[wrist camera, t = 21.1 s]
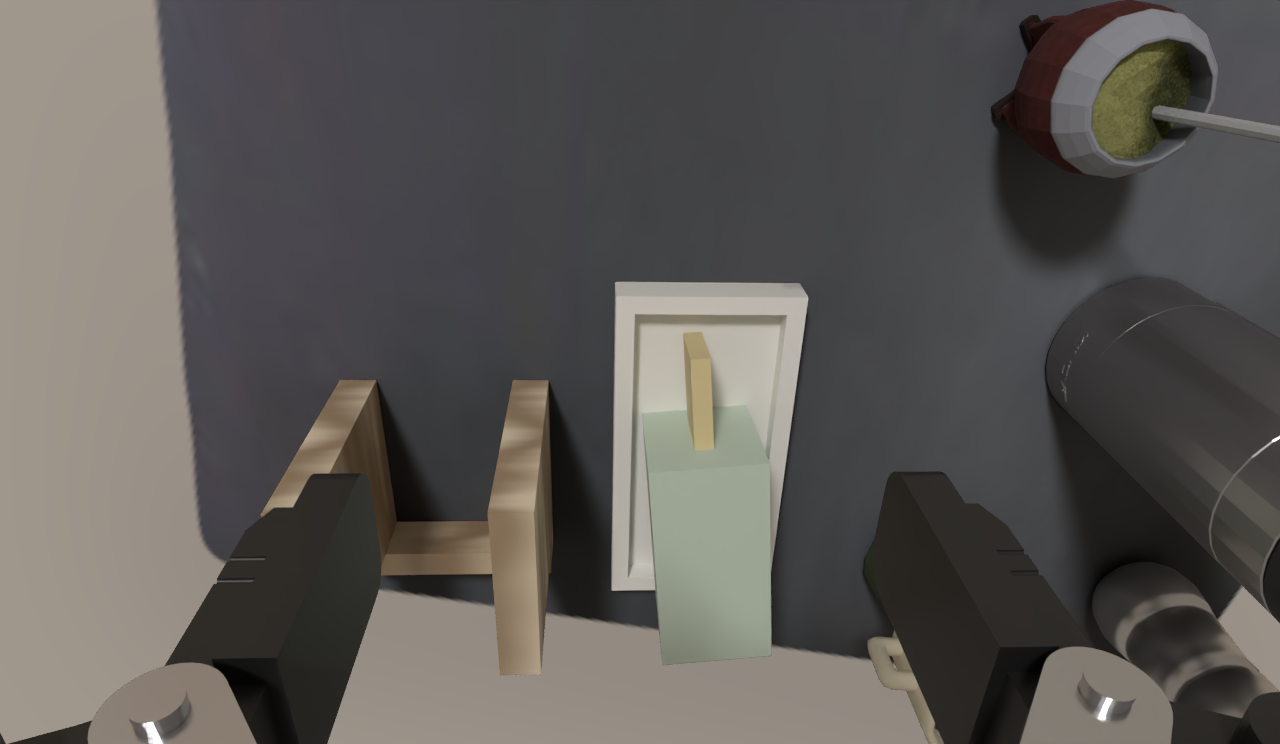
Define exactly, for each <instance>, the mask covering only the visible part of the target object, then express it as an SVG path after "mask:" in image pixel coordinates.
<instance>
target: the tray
mask: <svg viewBox="0 0 1280 744" xmlns="http://www.w3.org/2000/svg"><path fill="white" fill-rule="evenodd" d="M807 304H808V296H807V294H806V293H805V291H804V290H803V288H802V286H801V285H800V283H697V282H615V325H614V397H613V469H612V541H611V585H612V591H620V590H655V580H654V567H653V553H652V540H651V526H650V513H649V500H648V486H647V473H646V459H645V446H644V433H643V419H642V413H649V412H662V411H674V410H687V403H686V383H685V363H684V344H683V333H690V332H702V335H703V338H704V340H705V343H706V346H707V349H708V352H709V355H710V358H711V381H712V407H724V406H737V405H747V407H748V410H749V412H750V415H751V418H752V420H753V423H754V425H755V428H756V430H757V433H758V435H759V438H760V440H761V443H762V445H763V448H764V450H765V453H766V455H767V458H768V460H769V463H770V545H771V568H772V561H773V553H774V546H775V539H776V531H777V524H778V517H779V509H780V502H781V495H782V487H783V480H784V473H785V465H786V458H787V451H788V444H789V436H790V429H791V422H792V414H793V407H794V400H795V392H796V385H797V378H798V370H799V363H800V356H801V348H802V341H803V334H804V326H805V319H806V312H807Z"/></svg>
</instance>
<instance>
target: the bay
mask: <svg viewBox="0 0 1280 744" xmlns="http://www.w3.org/2000/svg"><path fill="white" fill-rule="evenodd" d="M321 473H364V474H366V476H367V477H368V480H369V483H370V489H371V495H372V501H373V507H374V514H375V520H376V526H377V532H378V539H379V545H380V551H381V575H445V574H492V576H493V589H494V602H495V615H496V627H497V640H498V653H499V666H500V675H538V674H539V675H541V668H542V655H543V642H544V641H543V640H544V628H545V615H546V602H547V589H548V576H549V573H551V565H552V551H553V515H552V481H551V448H550V414H549V381H548V380H513V383H512V388H511V393H510V398H509V404H508V409H507V414H506V419H505V425H504V430H503V435H502V440H501V445H500V451H499V456H498V461H497V466H496V472H495V477H494V482H493V487H492V493H491V498H490V503H489V508H488V521H437V522H397V519H396V512H395V505H394V498H393V491H392V484H391V477H390V470H389V464H388V457H387V450H386V443H385V436H384V429H383V422H382V415H381V408H380V401H379V394H378V388H377V381H376V380H340V381H339V383H338V384H337V386H336V388H335V389H334V391H333V393H332V395H331V396H330V398H329V400H328V401H327V403H326V405H325V406H324V408H323V410H322V412H321V413H320V415H319V417H318V418H317V420H316V422H315V423H314V425H313V427H312V429H311V430H310V432H309V434H308V435H307V437H306V439H305V440H304V442H303V444H302V446H301V447H300V449H299V451H298V452H297V454H296V456H295V457H294V459H293V461H292V462H291V464H290V466H289V468H288V469H287V471H286V473H285V474H284V476H283V478H282V479H281V481H280V483H279V485H278V486H277V488H276V490H275V491H274V493H273V495H272V496H271V498H270V500H269V502H268V503H267V505H266V507H265V508H264V510H263V512H262V513H261V518H262V517H263V516H264V515H265V514H267V513H268V512H269V511H270V510H272V509H273V508H274V507H293V506H294V504H295V502H296V501H297V499H298V497H299V495H300V493H301V491H302V490H303V488H304V486H305V484H306V482H307V480H308V479H309V477H310V476H311V475H312V474H321Z"/></svg>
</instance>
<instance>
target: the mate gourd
mask: <svg viewBox="0 0 1280 744" xmlns="http://www.w3.org/2000/svg"><path fill="white" fill-rule="evenodd" d="M1019 26H1020V29H1021V32H1022V35H1023V37H1024V39H1025V41H1026V43H1027V46H1028V48H1029V50H1030V53H1029V55H1028V56H1027V58H1026V59H1025V61H1024V64H1023V67H1022V69H1021V72H1020V75H1019V78H1018V80H1017V83H1016V86H1015V90H1014V91H1012V92H1011V93H1010V94H1008V95H1007V96H1005V97H1004V98H1002V99H1001V100H999V101H998V102H997V103H995V104H994V105H993V106H991V111H992V114H993V116H994V118H996V119H997V120H998V121H1002V120H1004V119H1005V118H1006V120H1007V122H1008V124H1009V125H1010V127H1011V129H1012V130H1013V131H1014V132H1016V133H1017V134H1018V135H1020V136H1021V137H1022V138H1023V139H1024V140H1025V141H1026V142H1027V143H1028V144H1029V145H1030V146H1031V147H1032V148H1033V149H1034V150H1036V151H1037V152H1039V153H1040V154H1041V155H1043V156H1044V157H1046V158H1047V159H1048V160H1050V161H1051V162H1053V163H1054V164H1055V165H1057V166H1058V167H1060V168H1061V169H1063V170H1066V171H1069V172H1072V173H1078V174H1085V175H1091V176H1098V177H1108V178H1117V177H1122V176H1126V175H1130V174H1134V173H1138V172H1142V171H1146V170H1148V169H1150V168H1151V167H1153V166H1155V165H1156V164H1158V163H1160V162H1161V161H1163V160H1164V159H1166V158H1168V157H1169V156H1171V155H1172V154H1174V153H1175V152H1177V151H1179V150H1180V149H1181V148H1183V147H1184V146H1185V144H1186V143H1187V142H1188V141H1189V140H1190V139H1191V138H1192V137H1193V135H1194V134H1195V133H1196V132H1197V131H1198V130H1199V129H1200V128H1205V129H1210V130H1215V131H1220V132H1225V133H1231V134H1236V135H1241V136H1246V137H1251V138H1256V139H1261V140H1267V141H1272V142H1277V143H1280V126H1275V125H1269V124H1264V123H1258V122H1252V121H1247V120H1241V119H1235V118H1229V117H1224V116H1218V115H1212V114H1208V112H1209V110H1210V108H1211V106H1212V104H1213V102H1214V100H1215V93H1216V83H1217V74H1218V66H1217V63H1216V60H1215V57H1214V54H1213V51H1212V48H1211V46H1210V43H1209V40H1208V37H1207V34H1206V33H1205V32H1204V31H1202V30H1201V29H1200V28H1199V27H1198V26H1197V25H1195V24H1194V23H1193V22H1192V21H1191V20H1190V19H1188V18H1187V17H1186V16H1185V15H1184V14H1179V13H1177V12H1175V11H1174V10H1172V9H1170V8H1167V7H1164V6H1161V5H1156V4H1150V3H1145V2H1139V1H1134V0H1124V1H1117V2H1113V3H1108V4H1104V5H1100V6H1096V7H1091V8H1087V9H1083V10H1080V11H1078V12H1075V13H1072V14H1070V15H1067V16H1053V17H1050V18H1047V19H1045V20H1043V21H1041V20H1040V19H1039V17H1038V15H1032V16H1029V17H1028V18H1026V19H1025V20H1023V21H1022V22H1021V24H1020V25H1019Z"/></svg>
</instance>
